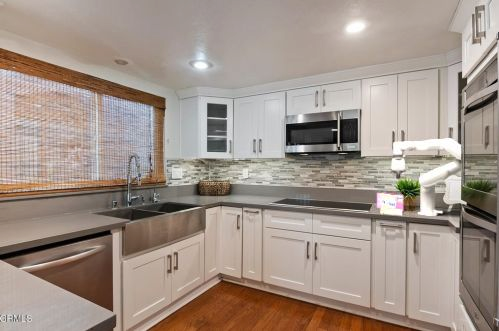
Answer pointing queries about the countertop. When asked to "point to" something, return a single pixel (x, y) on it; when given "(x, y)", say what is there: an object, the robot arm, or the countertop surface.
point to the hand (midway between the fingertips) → (398, 178)
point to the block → (384, 206)
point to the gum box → (390, 200)
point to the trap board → (392, 211)
